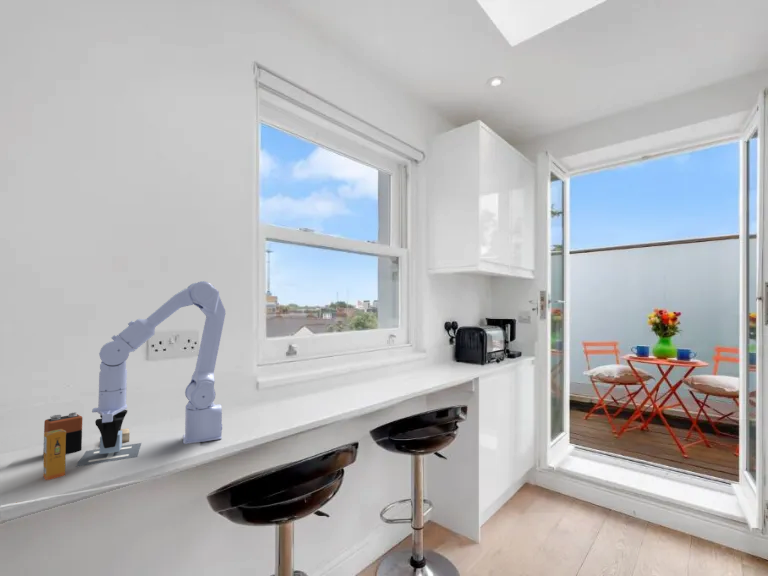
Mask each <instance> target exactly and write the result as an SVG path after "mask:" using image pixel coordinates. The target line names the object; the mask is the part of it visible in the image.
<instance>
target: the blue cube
mask: <svg viewBox="0 0 768 576" xmlns="http://www.w3.org/2000/svg"><path fill="white" fill-rule="evenodd" d="M122 446H123V443H122V430H121V431H118V436H117V441H116V444H115V447H110V448H104V445H103V441H102V436H101V435H100V437H99V449H100V452H99V454H104V453H111V452H118V451H120V449H121V447H122Z"/></svg>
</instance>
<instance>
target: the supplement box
mask: <svg viewBox="0 0 768 576" xmlns="http://www.w3.org/2000/svg"><path fill="white" fill-rule="evenodd" d="M43 450H44V455H43V473H42V475H43V478H44V480H45V481H50V480H53V479H57V478H61V477H64V476H66V455H65V453H66V431H65V430H63V429H58V430H54V431H49V432H45V433H44V432H43Z"/></svg>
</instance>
